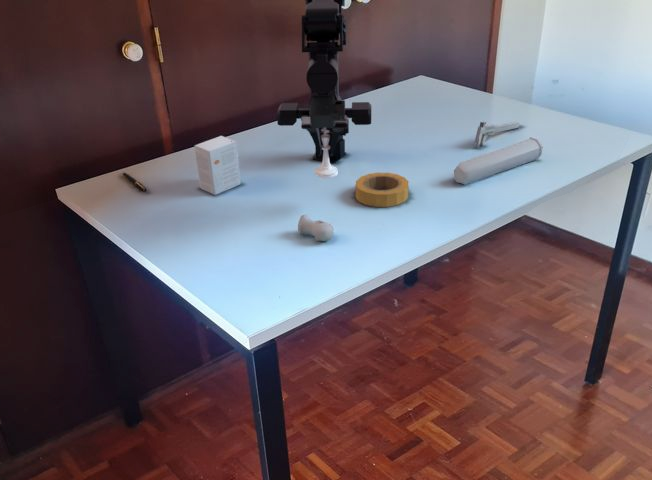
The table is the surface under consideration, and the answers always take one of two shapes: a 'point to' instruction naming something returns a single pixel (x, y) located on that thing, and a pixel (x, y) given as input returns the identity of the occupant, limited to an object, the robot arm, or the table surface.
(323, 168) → the chess piece
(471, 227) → the table surface
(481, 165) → the tube
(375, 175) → the tape roll
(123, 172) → the fountain pen
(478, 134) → the caliper
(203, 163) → the small box
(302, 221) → the pale two-lobed sculpture
